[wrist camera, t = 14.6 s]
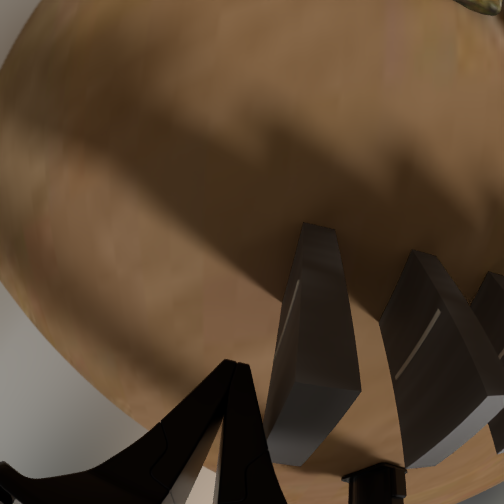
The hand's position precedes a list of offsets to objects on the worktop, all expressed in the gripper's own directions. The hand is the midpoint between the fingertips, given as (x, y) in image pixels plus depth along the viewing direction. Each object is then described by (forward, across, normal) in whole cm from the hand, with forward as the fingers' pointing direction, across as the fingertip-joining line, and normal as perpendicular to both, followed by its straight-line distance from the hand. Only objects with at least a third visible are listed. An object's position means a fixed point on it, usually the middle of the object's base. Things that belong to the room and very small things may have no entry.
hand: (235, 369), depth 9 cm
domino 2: (+7, -8, 0) cm, 11 cm away
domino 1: (+7, -2, 0) cm, 8 cm away
